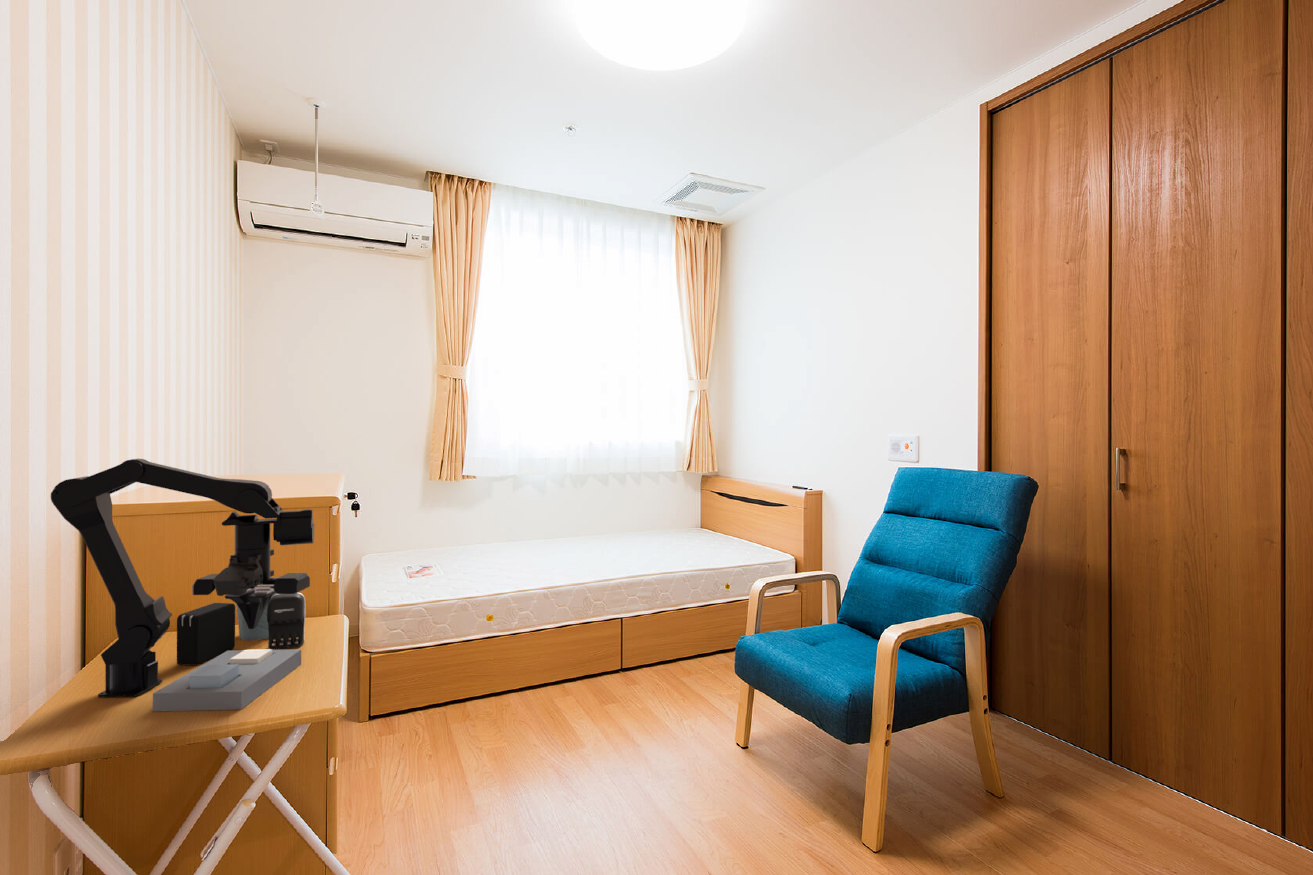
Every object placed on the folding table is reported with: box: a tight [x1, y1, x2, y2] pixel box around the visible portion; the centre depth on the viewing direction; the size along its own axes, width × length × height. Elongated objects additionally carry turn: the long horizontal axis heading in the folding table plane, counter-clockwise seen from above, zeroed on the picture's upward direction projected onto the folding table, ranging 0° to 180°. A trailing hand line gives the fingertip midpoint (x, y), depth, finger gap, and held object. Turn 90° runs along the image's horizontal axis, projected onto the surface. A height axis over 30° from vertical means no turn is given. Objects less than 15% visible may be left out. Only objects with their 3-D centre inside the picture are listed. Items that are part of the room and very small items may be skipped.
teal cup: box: [236, 576, 279, 642], centre depth 140 cm, size 10×10×12 cm
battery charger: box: [267, 592, 306, 650], centre depth 132 cm, size 7×4×11 cm, turn 111°
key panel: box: [152, 648, 302, 712], centre depth 112 cm, size 14×20×3 cm
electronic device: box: [176, 602, 236, 666], centre depth 126 cm, size 4×10×10 cm, turn 174°
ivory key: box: [230, 648, 273, 664], centre depth 117 cm, size 5×5×2 cm
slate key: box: [190, 664, 239, 689], centre depth 106 cm, size 5×5×2 cm
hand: (252, 628), depth 117 cm, fingers closed
